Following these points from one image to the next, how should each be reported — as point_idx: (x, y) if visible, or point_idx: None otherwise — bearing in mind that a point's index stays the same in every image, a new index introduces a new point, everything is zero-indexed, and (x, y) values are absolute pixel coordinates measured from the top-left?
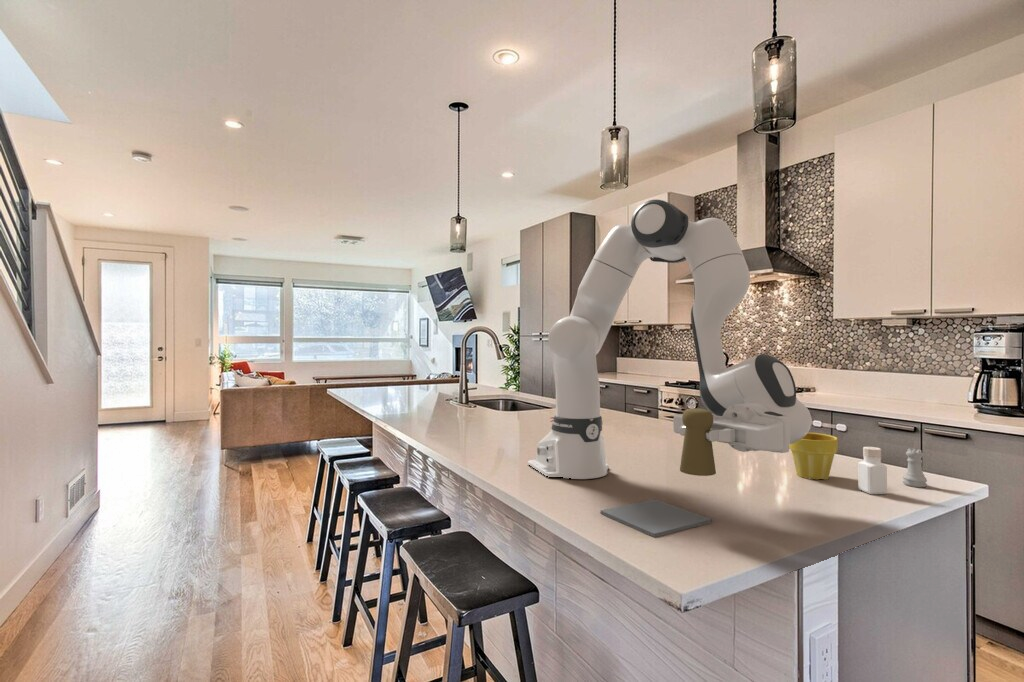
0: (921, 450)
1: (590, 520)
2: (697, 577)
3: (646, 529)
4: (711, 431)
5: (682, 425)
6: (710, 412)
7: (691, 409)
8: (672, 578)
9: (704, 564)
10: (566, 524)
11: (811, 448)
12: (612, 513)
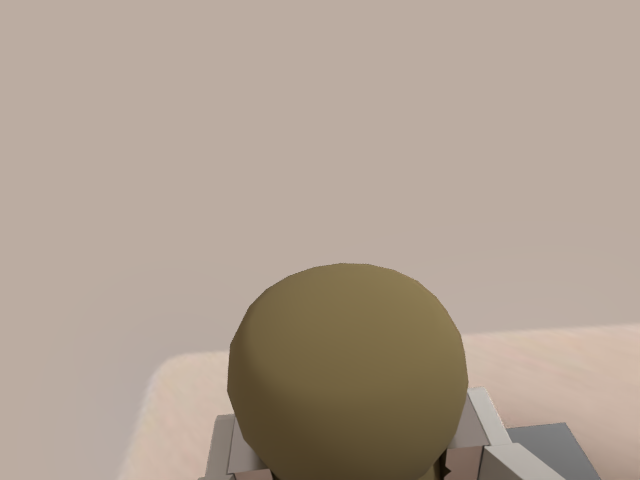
0: None
1: (507, 383)
2: (167, 402)
3: None
4: (221, 416)
5: (487, 396)
6: (243, 366)
7: (351, 273)
8: (195, 368)
9: (186, 450)
10: (487, 335)
11: None
12: (531, 437)
